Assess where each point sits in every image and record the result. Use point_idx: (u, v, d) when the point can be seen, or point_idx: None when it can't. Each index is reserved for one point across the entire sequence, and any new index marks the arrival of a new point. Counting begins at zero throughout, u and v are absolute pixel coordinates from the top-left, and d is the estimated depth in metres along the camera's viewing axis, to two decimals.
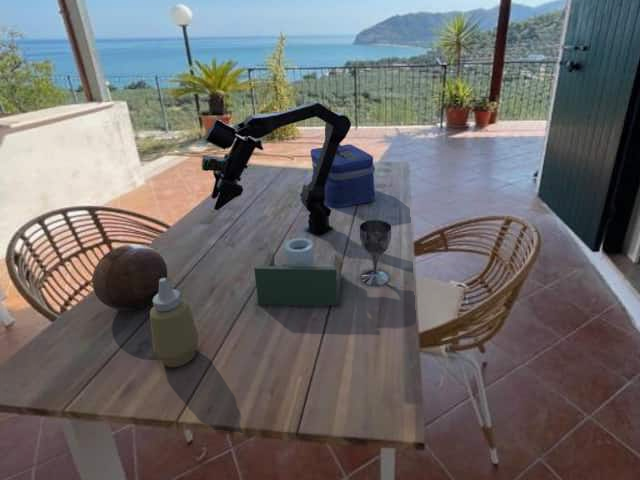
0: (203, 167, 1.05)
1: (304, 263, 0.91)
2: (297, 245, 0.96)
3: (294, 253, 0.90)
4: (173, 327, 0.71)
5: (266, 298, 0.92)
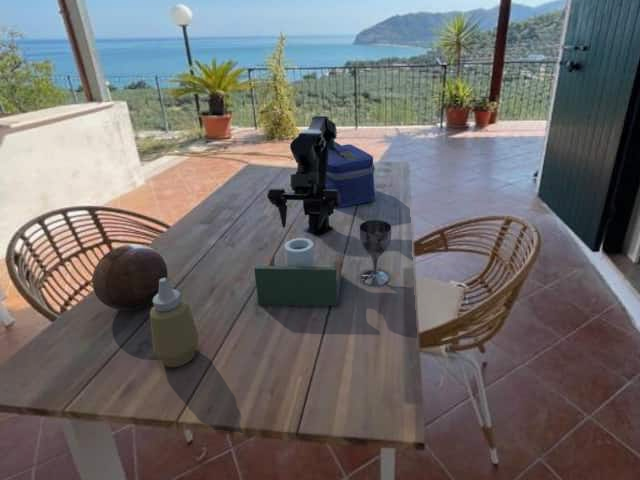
0: (307, 183, 0.97)
1: (304, 263, 0.91)
2: (297, 245, 0.96)
3: (294, 253, 0.90)
4: (173, 327, 0.71)
5: (266, 298, 0.92)
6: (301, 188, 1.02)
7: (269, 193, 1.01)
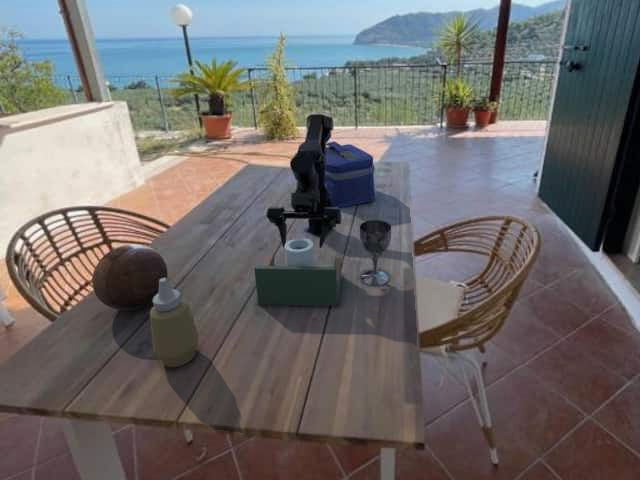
0: (308, 202, 0.94)
1: (304, 263, 0.91)
2: (297, 245, 0.96)
3: (294, 253, 0.90)
4: (173, 327, 0.71)
5: (266, 298, 0.92)
6: (301, 206, 0.99)
7: (268, 212, 0.98)
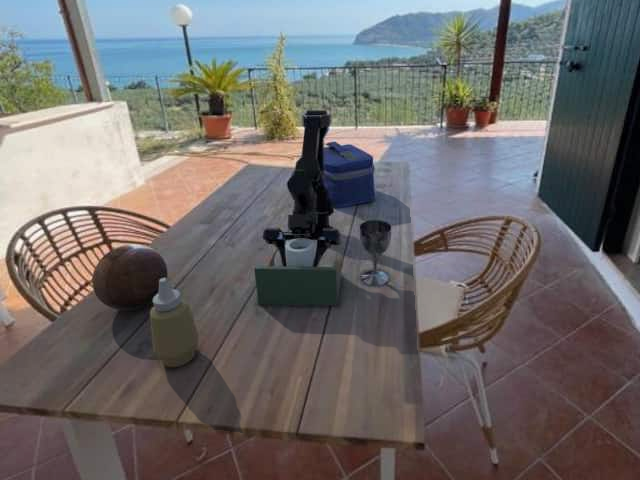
0: (305, 224, 0.91)
1: (304, 263, 0.91)
2: (298, 245, 0.96)
3: (294, 253, 0.90)
4: (173, 327, 0.71)
5: (266, 298, 0.92)
6: (299, 228, 0.95)
7: (265, 234, 0.95)
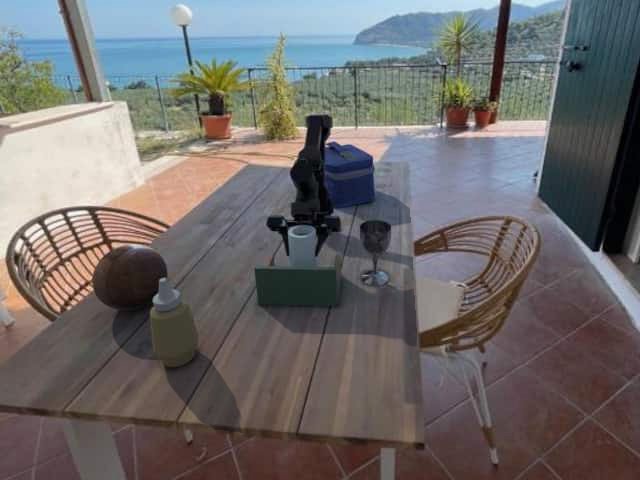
0: (308, 212, 0.94)
1: (307, 249, 0.95)
2: (300, 232, 0.99)
3: (297, 239, 0.93)
4: (173, 327, 0.71)
5: (266, 298, 0.92)
6: (301, 215, 0.98)
7: (268, 221, 0.98)
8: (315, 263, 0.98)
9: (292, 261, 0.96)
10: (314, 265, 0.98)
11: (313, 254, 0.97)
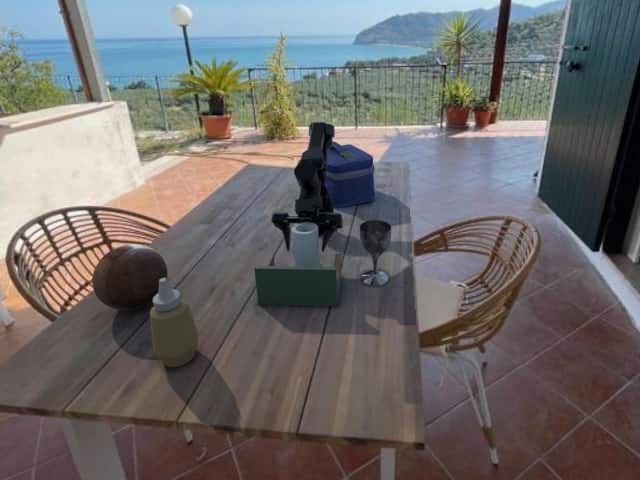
0: (311, 208, 0.99)
1: (309, 245, 1.00)
2: (303, 229, 1.04)
3: (300, 235, 0.98)
4: (173, 327, 0.71)
5: (266, 298, 0.92)
6: (305, 212, 1.04)
7: (273, 217, 1.03)
8: (317, 258, 1.03)
9: (296, 256, 1.02)
10: (317, 260, 1.03)
11: (315, 250, 1.02)
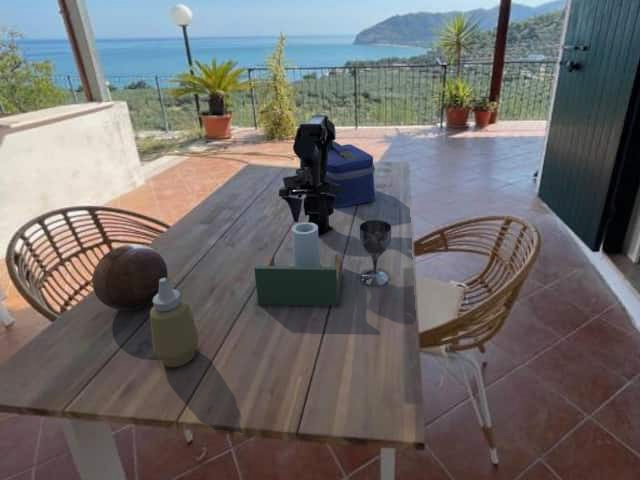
0: (295, 184, 1.01)
1: (309, 245, 1.00)
2: (303, 229, 1.04)
3: (300, 235, 0.98)
4: (173, 327, 0.71)
5: (266, 298, 0.92)
6: (301, 185, 1.06)
7: (279, 193, 1.11)
8: (317, 258, 1.03)
9: (296, 256, 1.02)
10: (317, 260, 1.03)
11: (315, 250, 1.02)
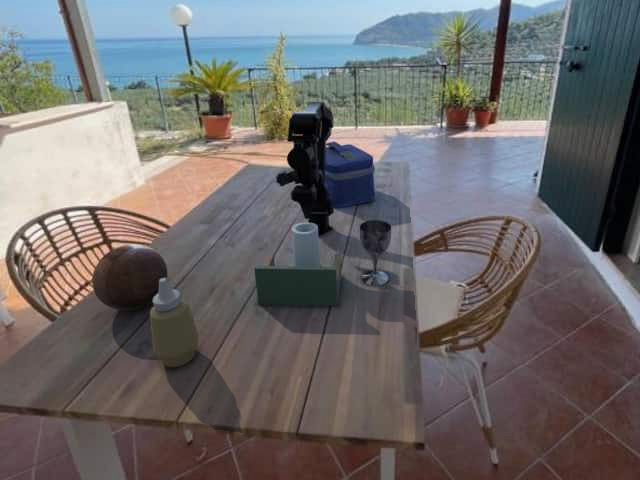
0: (279, 184, 1.06)
1: (309, 245, 1.00)
2: (303, 229, 1.04)
3: (300, 235, 0.98)
4: (173, 327, 0.71)
5: (266, 298, 0.92)
6: None
7: None
8: (317, 258, 1.03)
9: (296, 256, 1.02)
10: (317, 260, 1.03)
11: (315, 250, 1.02)
